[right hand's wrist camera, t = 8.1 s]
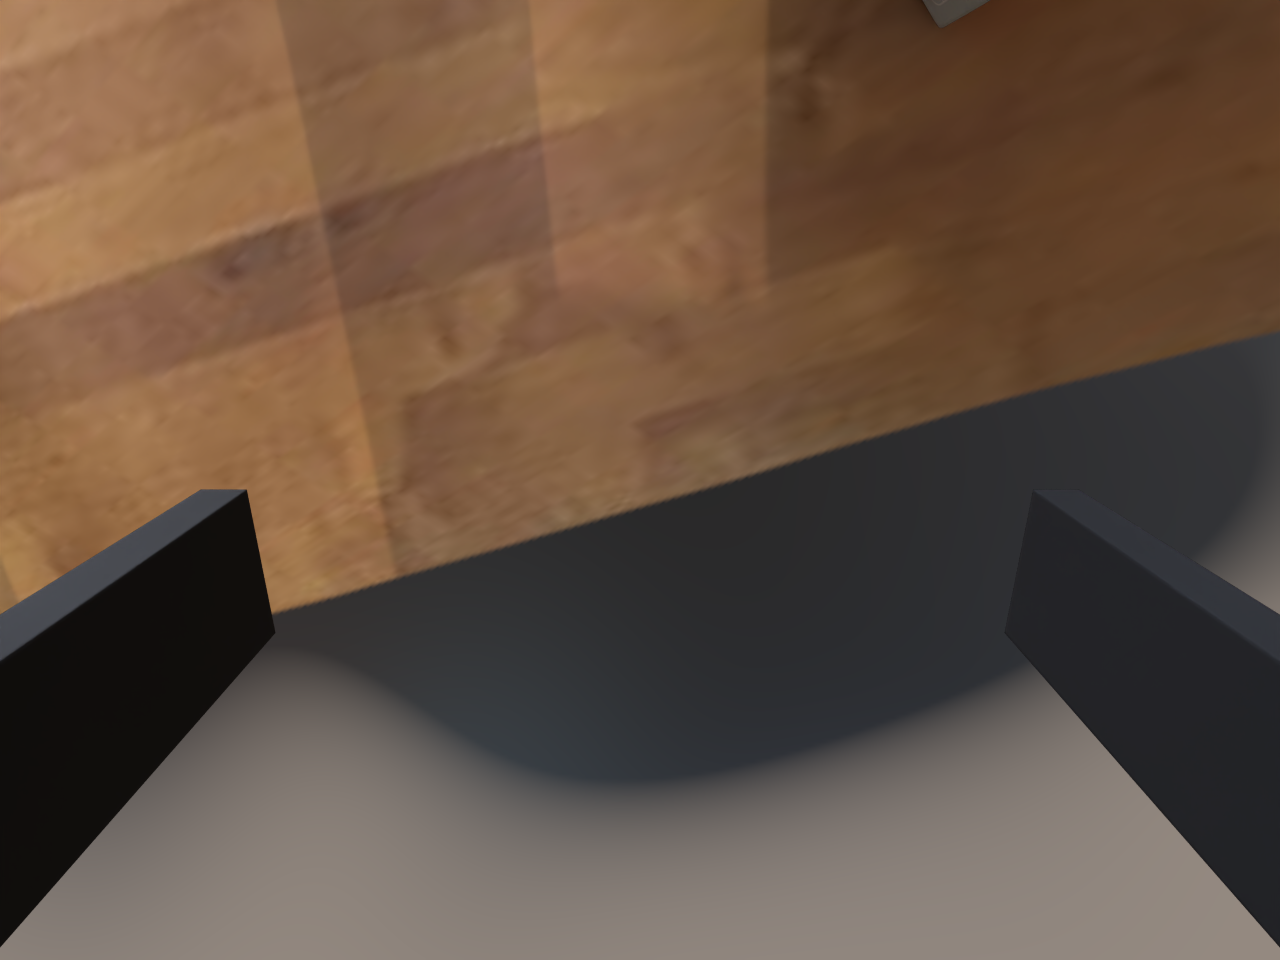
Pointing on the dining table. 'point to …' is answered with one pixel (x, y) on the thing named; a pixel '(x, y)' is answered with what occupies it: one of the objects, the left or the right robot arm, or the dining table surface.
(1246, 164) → the dining table surface
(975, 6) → the hard drive box
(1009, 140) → the dining table surface
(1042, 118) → the dining table surface
